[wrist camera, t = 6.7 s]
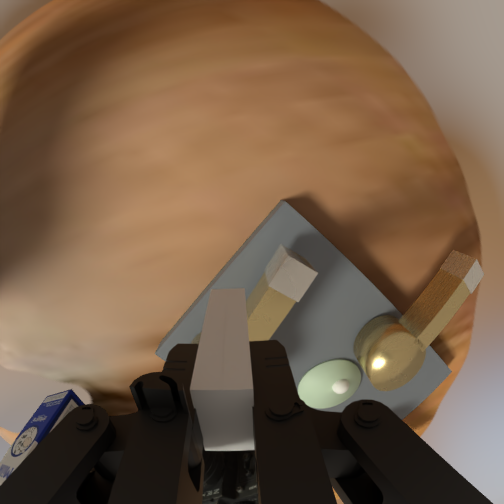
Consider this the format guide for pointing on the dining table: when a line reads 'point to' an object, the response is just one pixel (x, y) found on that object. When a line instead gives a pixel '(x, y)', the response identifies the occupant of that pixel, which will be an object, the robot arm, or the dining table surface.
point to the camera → (229, 477)
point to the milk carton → (38, 429)
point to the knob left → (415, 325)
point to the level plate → (315, 318)
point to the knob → (276, 293)
